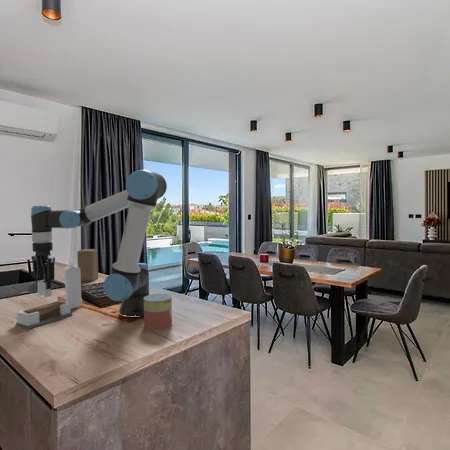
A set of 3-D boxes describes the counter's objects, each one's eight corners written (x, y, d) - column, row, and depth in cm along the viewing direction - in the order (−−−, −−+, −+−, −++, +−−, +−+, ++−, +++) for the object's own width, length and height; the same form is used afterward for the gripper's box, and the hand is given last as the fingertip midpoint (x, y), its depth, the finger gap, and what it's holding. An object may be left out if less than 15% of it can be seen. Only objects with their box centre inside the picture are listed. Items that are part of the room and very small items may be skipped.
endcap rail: (72, 315, 150) (72, 303, 149) (30, 328, 133) (29, 315, 133) (58, 311, 155) (58, 300, 154) (16, 324, 138) (15, 311, 138)
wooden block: (92, 281, 216) (91, 251, 215) (77, 281, 216) (76, 251, 215) (98, 278, 226) (97, 248, 225) (84, 278, 226) (83, 249, 225)
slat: (63, 313, 150) (63, 302, 149) (29, 323, 137) (29, 311, 136) (58, 312, 151) (58, 301, 151) (25, 322, 138) (24, 310, 138)
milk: (68, 309, 158) (66, 263, 157) (65, 306, 163) (63, 261, 162) (82, 306, 162) (80, 262, 161) (78, 303, 167) (77, 260, 165)
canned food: (173, 329, 132) (173, 299, 131) (144, 332, 129) (144, 302, 128) (170, 320, 143) (169, 292, 142) (143, 323, 140) (142, 294, 139)
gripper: (62, 241, 141) (64, 296, 142) (39, 240, 149) (41, 291, 151) (45, 243, 135) (47, 300, 136) (22, 241, 143) (24, 295, 144)
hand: (44, 295), depth 143 cm, fingers open, 4 cm apart
